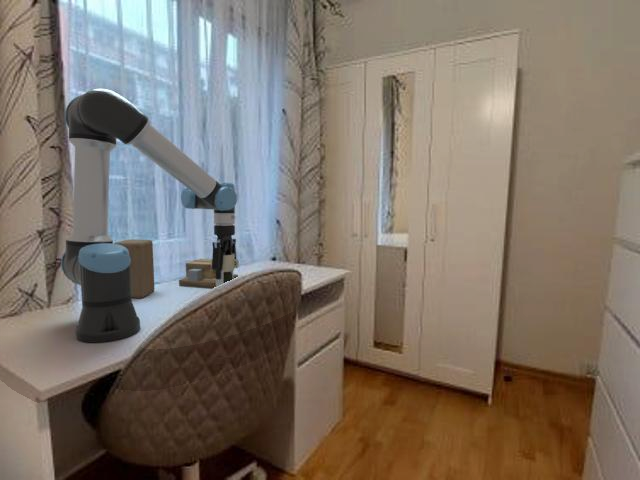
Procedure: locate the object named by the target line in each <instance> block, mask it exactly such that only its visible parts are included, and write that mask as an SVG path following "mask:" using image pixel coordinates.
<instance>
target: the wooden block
mask: <svg viewBox="0 0 640 480" xmlns="http://www.w3.org/2000/svg"><path fill="white" fill-rule="evenodd" d="M113 244H118V245H122V246H124V247H126V248H127V249H128V251H129V257H130V259H131V263H130V271H131V293H132V299H138V298H139V299H142V298H145V297H147V296H148V295H150V294H152V293H153V292H155V273H154V272H155V271H154V270H155V268H154V267H155V265H154V249H153V248H154V247H153V246H154V244H153V240H151V239H129V238H128V239H123V240H121V241H116V242H113Z"/></svg>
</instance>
